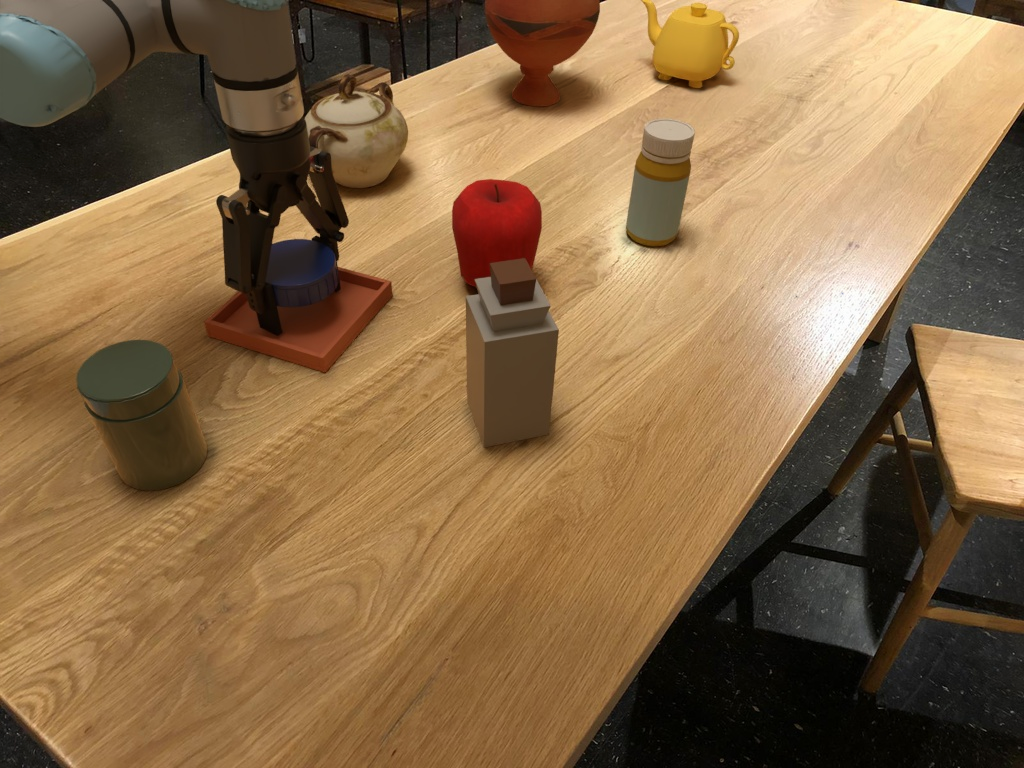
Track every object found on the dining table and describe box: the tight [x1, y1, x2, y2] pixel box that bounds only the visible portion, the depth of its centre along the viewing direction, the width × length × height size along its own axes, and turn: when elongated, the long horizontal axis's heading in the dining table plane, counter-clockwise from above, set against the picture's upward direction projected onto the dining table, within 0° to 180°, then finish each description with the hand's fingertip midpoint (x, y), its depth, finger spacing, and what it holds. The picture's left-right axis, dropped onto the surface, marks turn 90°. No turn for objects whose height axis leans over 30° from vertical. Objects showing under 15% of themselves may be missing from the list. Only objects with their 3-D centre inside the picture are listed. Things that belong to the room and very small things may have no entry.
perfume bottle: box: [465, 258, 560, 448], centre depth 72 cm, size 7×7×18 cm
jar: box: [76, 339, 208, 492], centre depth 69 cm, size 8×8×12 cm
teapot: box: [640, 0, 740, 89], centre depth 142 cm, size 14×20×13 cm
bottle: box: [625, 118, 695, 248], centre depth 99 cm, size 7×7×15 cm
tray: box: [203, 266, 394, 373], centre depth 88 cm, size 15×15×2 cm
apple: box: [451, 178, 543, 289], centre depth 90 cm, size 10×10×14 cm
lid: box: [252, 238, 339, 307], centre depth 85 cm, size 9×9×3 cm
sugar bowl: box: [304, 73, 409, 189], centre depth 109 cm, size 20×15×15 cm
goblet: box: [484, 0, 601, 108], centre depth 128 cm, size 19×19×25 cm
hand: (301, 307), depth 88 cm, fingers closed on lid, 9 cm apart
